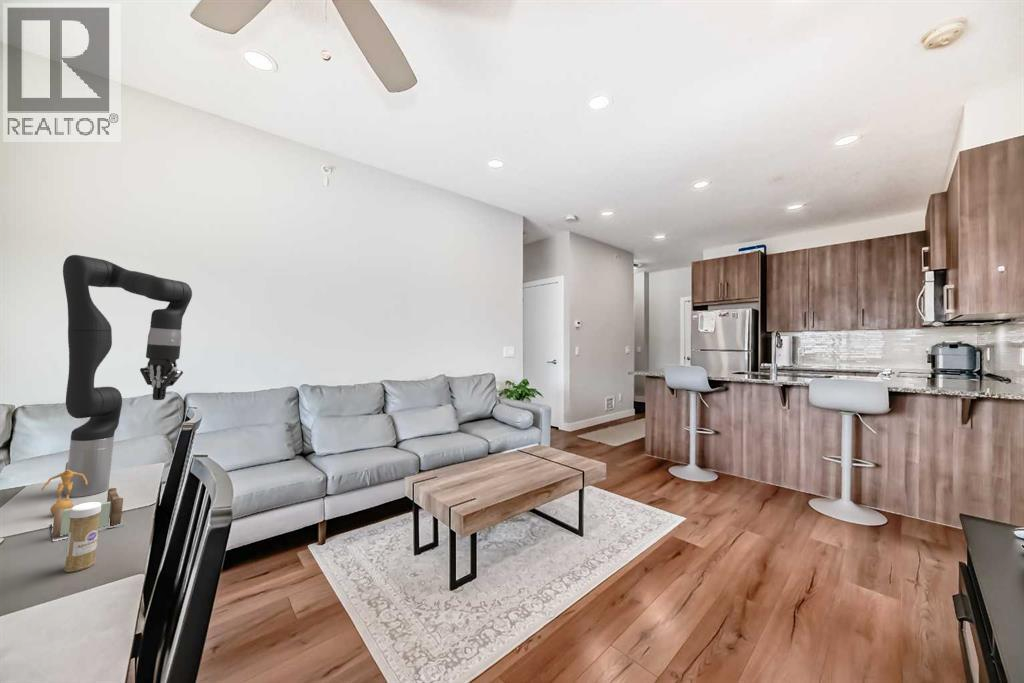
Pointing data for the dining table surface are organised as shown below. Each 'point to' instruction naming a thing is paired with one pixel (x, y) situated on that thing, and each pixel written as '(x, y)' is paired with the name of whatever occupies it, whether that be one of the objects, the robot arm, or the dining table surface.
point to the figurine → (66, 479)
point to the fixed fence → (115, 507)
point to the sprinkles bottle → (82, 536)
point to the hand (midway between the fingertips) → (158, 399)
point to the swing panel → (63, 519)
